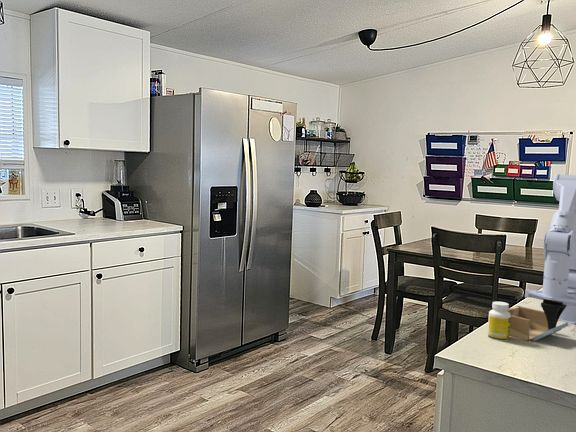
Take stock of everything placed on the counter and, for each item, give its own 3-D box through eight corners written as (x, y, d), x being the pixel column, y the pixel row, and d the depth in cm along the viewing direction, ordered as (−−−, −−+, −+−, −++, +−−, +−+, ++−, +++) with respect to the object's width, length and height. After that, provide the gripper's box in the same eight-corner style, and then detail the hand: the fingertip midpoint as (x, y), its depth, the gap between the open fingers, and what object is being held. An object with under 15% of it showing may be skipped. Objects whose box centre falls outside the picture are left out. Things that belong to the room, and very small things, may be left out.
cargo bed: (516, 326, 151) (517, 305, 150) (552, 335, 143) (553, 313, 142) (494, 334, 143) (495, 312, 142) (530, 344, 135) (532, 321, 135)
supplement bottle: (511, 343, 135) (513, 306, 134) (489, 342, 136) (491, 305, 136) (506, 337, 141) (509, 301, 140) (485, 335, 142) (487, 299, 141)
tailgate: (548, 331, 142) (567, 322, 138) (550, 335, 142) (569, 326, 138) (531, 338, 136) (551, 328, 132) (534, 342, 136) (553, 332, 132)
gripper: (520, 274, 139) (517, 325, 140) (579, 285, 128) (574, 339, 129) (533, 272, 143) (530, 321, 144) (590, 282, 132) (586, 334, 133)
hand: (551, 329), depth 137 cm, fingers closed, pressing on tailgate
